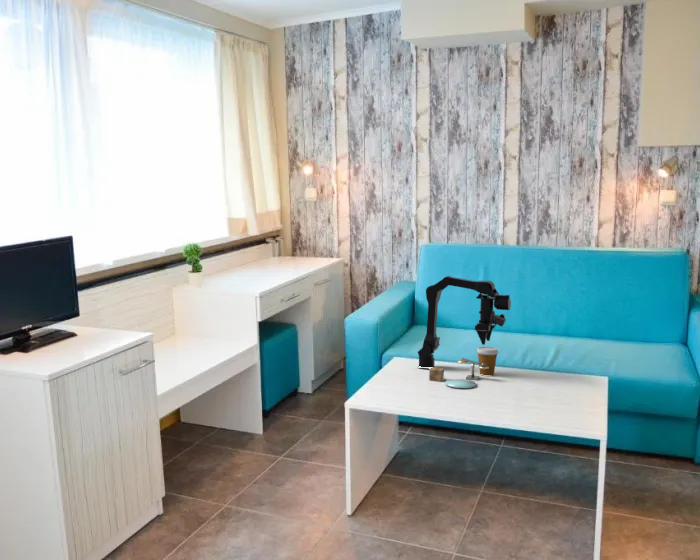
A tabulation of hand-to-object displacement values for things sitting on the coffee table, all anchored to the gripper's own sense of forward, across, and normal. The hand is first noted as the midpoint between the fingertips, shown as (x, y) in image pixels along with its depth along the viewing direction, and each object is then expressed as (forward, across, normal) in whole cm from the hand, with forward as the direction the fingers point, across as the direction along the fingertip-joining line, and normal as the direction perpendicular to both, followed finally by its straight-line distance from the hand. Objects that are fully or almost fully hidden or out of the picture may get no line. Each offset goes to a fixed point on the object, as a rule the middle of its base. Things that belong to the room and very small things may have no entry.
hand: (485, 342), depth 304 cm
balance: (+15, -10, +3) cm, 18 cm away
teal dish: (+15, -23, +5) cm, 28 cm away
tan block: (+15, -19, +17) cm, 30 cm away
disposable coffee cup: (+15, 0, -1) cm, 15 cm away
